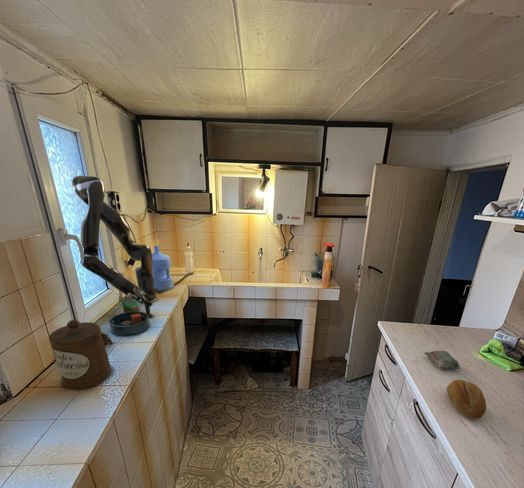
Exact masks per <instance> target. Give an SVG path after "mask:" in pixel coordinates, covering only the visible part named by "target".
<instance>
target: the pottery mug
mask: <svg viewBox="0 0 524 488" xmlns="http://www.w3.org/2000/svg"><path fill="white" fill-rule="evenodd" d="M101 333H102V337H103V341H104V344H105V348H106V347H108V346H109V345H110V344H113V340H112V339H111V336H109V335H108V334H107V333H104V332H102V331H101Z"/></svg>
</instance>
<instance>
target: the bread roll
mask: <svg viewBox="0 0 524 488" xmlns="http://www.w3.org/2000/svg"><path fill="white" fill-rule="evenodd" d="M446 393H447V395H448V398H449V399H450V401H451V403H452V405H454V407H455V409H456V410H458V412H460V413H461V414H462V415H463V416H465V417H467V418H469V419H472V420H478V419H481V418H482V417H483V416H484V415H485V414H486V410H487V401H486V397H485V395H484V393H483V391H482V390H481V389H480V387H479V386H478V385H477V384H475V383H472V382H470V381H467V380H463V379H454V380H452V381H451V382H450V383H449V384H448V385H447V386H446Z"/></svg>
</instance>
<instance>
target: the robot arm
mask: <svg viewBox="0 0 524 488" xmlns="http://www.w3.org/2000/svg"><path fill="white" fill-rule="evenodd" d="M71 186H72V189H73V191H74V193H75V194H76V196H78V198H79V199H80V200H81V201H83V203H85V205H86V206H88V207H87V210H86V211H87V212H86V214H85V215H84V218H83V220H82V222H81V226H80V244H81V243H82V245H81V247H82V246H83V248H84V263H83V264H81V266H82V267H83V268H84V269H86V270H87V271H89V272H90V273H93V274H94V275H96V276H97V277H99V278H101V279H102V280H104V281H105V282H107V283H108V284H110V286H112V287H113V288H115V289H116V290H118V291H119V292H121V293H122V294H124V296H126V295H127V294H129V293H131V294H132V298H134V299H136V300H137V301H138V303H140V304H144V303H145V304H146V305H148V306H149V307H150V308H151V307H152V306H153V305H154V304H153V303H154V302H156V301H157V293H158V294H162V293H164V292H165V291H164V290H163V291H159V290H157V288H155V285H154V278H153V271H152V269H153V261H152V254H153V252H152V249H151V247H150V246H149V245H148V244H137V243H136V242H135V241H134V240H133V238H132V237H131V227H130V224H129V223H128V221H127V220H126V219H125V218H124V216H123V215H122V214H121V213H120V212H119V211H118V210H116V208H113V207H112V206H111V205H110V204H108V203H107V202H105V193H106V190H105V188H106V187H105V184H104V183H103V181H102V180H101V179H100V178H99V177H97V176H94V175H93V176H92V175H76V176H74V177H73V178H72V180H71ZM101 222H102V223H103V224H104V226H105V227H106V228H107V229H108V230H109V232H110V234H112V235H113V236H114V237H115V239H117V241H118V242H119V243H120V245H121V246H122V247H123V249H124V251H125V252H126V253H127V255H128V257H129V258H130V259H131V260H132V261H133V260H134V261H135V262H140V266H137V267H135V268H134V272H135V273H134V274H135V278H136V281H134V280H132V279H131V278H129V277H128V276H127V275H125V274H124V273H122V272H120V271H119V270H117V269H115V268H114V267H113V266H110V265H108V264H107V263H106V262H104V261H103V260H101V259H100V258H99V257H100V255H99V254H100V253H99V247H100V223H101ZM191 272H192V273H191ZM191 274H194V272H193V271H189V272H188V273H187V274H185V275H184V276H183V277H182V278H180V279H179V280H178V281H176V282H175V283H173V285H174V286H176V285H177V284H179V283H181V282H182V281H183V280H184V279H186V277H188V276H190V275H191ZM136 283H137V285H136ZM145 297H148V300H149V301H148V300H147V299H146V298H145ZM145 304H144V305H145Z"/></svg>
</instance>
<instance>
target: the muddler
mask: <svg viewBox="0 0 524 488" xmlns="http://www.w3.org/2000/svg"><path fill="white" fill-rule="evenodd" d="M145 298H146V299H147V300H148V297H145ZM148 301H149V300H148ZM143 304H144V310H145V313H147V314H148V315H149V319H150V320H151V319H153V317H154V315H153V313H151V307H149V306H148V305H146V304H145V303H143Z"/></svg>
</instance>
